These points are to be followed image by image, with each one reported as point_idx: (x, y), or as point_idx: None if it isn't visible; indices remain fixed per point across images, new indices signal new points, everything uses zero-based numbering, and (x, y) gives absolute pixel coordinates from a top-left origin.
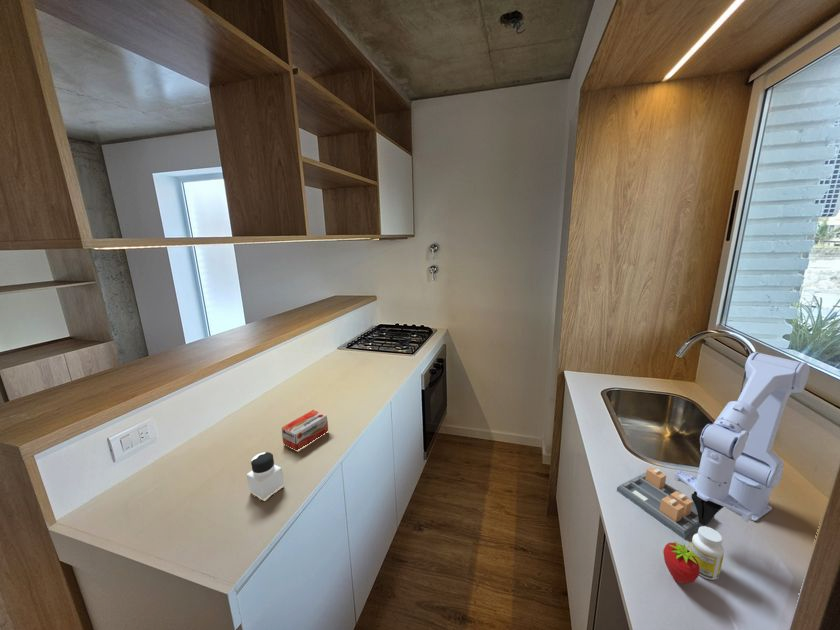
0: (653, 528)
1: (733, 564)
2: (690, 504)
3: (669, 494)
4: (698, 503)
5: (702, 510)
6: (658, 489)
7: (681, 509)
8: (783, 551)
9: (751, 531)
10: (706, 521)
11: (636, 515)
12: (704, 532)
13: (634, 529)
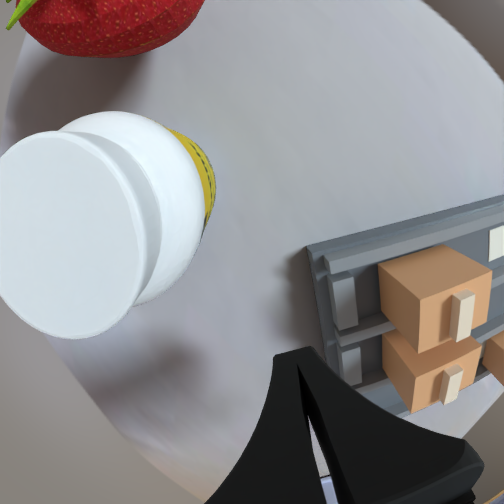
0: (390, 154)
1: (162, 332)
2: (407, 393)
3: None
4: (382, 459)
5: (325, 429)
6: (492, 332)
7: (414, 329)
8: (194, 473)
9: None
10: (271, 383)
11: (454, 146)
12: (59, 189)
13: (401, 66)
